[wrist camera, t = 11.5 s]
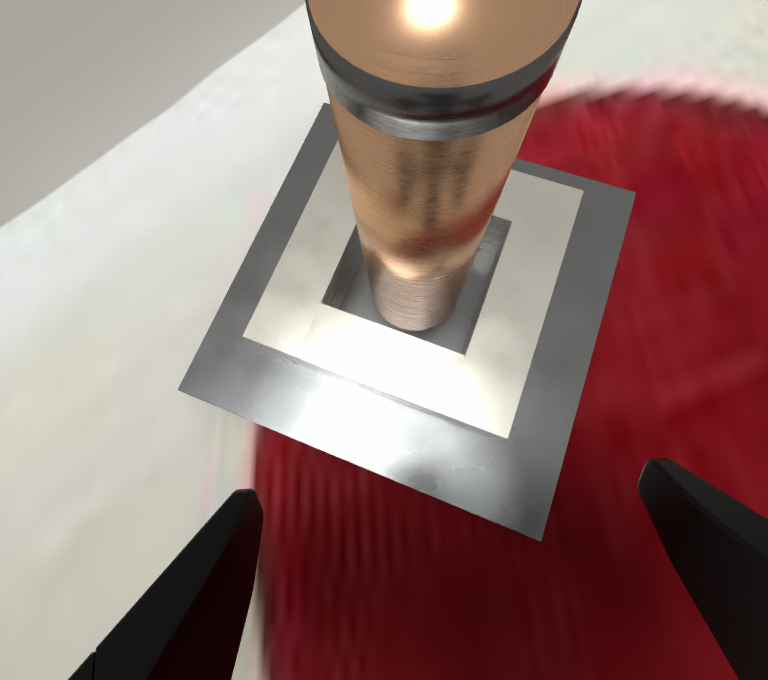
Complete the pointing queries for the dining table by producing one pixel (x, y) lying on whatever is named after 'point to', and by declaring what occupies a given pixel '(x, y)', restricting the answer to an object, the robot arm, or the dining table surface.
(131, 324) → the dining table surface
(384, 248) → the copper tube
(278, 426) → the frame
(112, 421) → the dining table surface
